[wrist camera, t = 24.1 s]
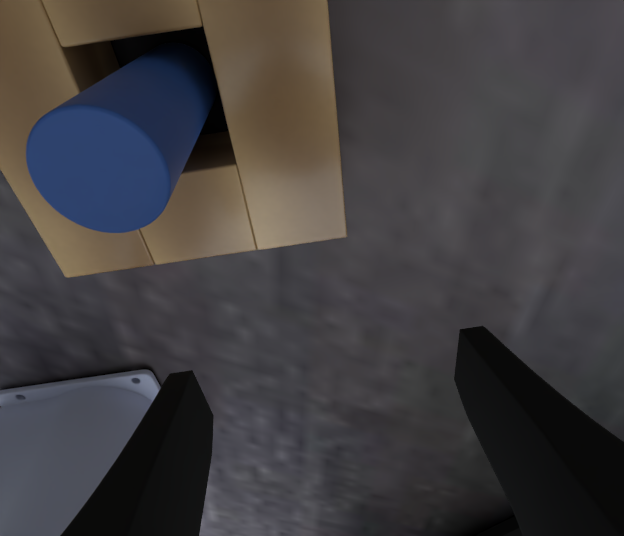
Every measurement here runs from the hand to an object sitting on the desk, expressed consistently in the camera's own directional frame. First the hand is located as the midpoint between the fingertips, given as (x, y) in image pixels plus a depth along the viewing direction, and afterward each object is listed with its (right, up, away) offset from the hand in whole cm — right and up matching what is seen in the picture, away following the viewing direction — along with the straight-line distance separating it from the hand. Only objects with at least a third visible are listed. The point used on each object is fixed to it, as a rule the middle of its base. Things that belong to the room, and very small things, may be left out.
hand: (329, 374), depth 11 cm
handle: (-6, +10, +5) cm, 12 cm away
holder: (-6, +10, +5) cm, 12 cm away
